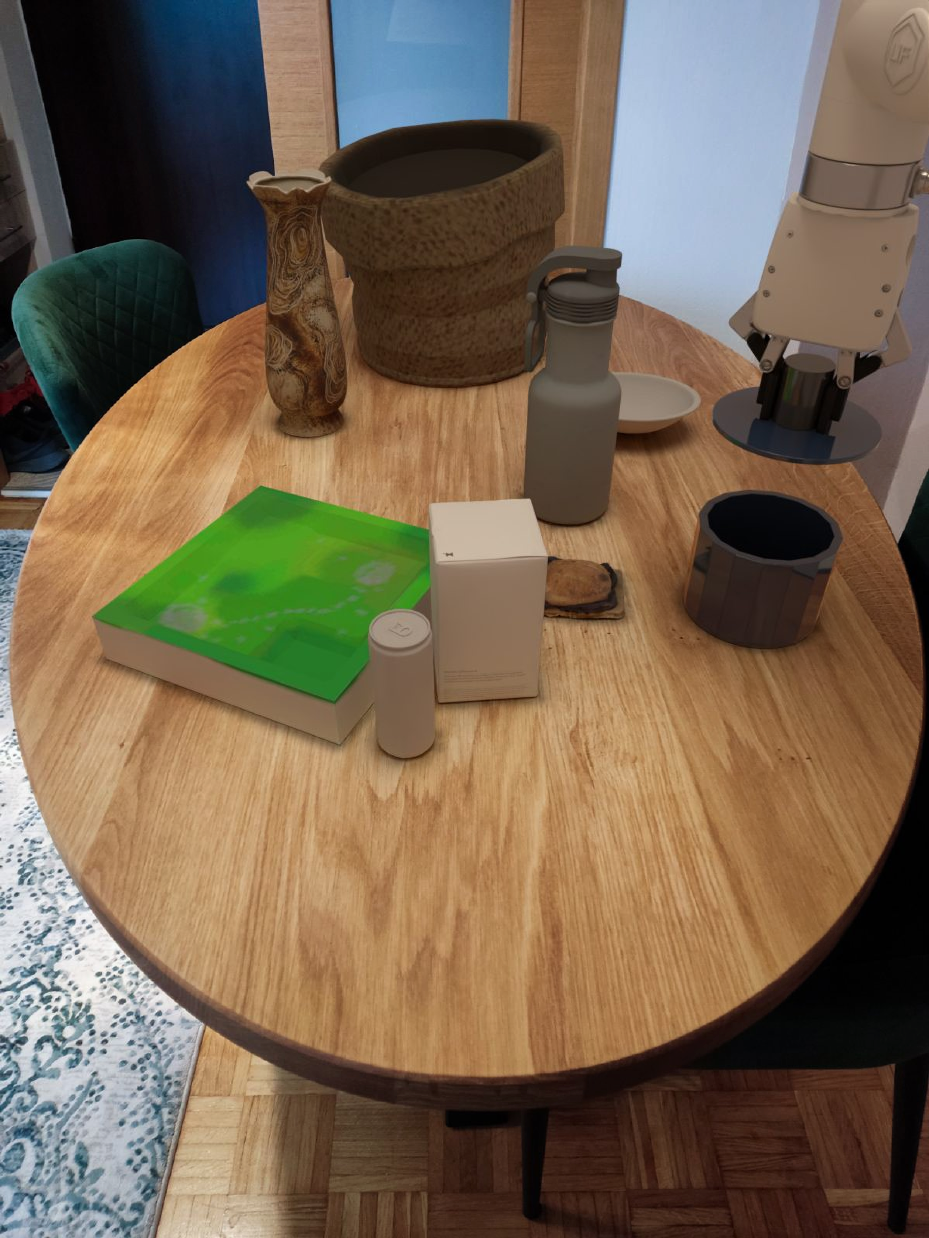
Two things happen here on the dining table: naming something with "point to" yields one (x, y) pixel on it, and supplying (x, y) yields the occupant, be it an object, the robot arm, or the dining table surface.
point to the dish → (652, 402)
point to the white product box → (486, 598)
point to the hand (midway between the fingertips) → (796, 417)
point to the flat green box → (274, 609)
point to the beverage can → (402, 681)
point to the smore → (583, 589)
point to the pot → (445, 243)
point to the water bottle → (572, 385)
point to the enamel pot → (760, 567)
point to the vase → (300, 305)
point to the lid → (797, 418)
